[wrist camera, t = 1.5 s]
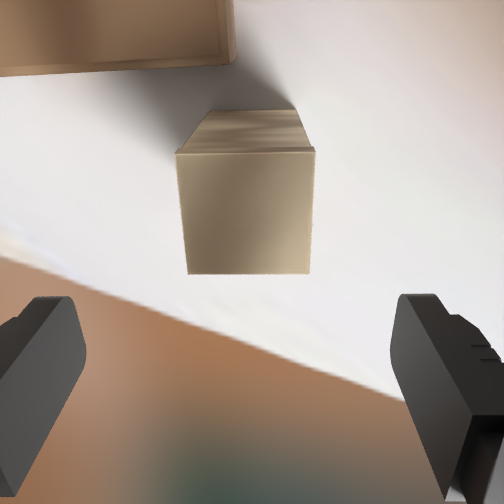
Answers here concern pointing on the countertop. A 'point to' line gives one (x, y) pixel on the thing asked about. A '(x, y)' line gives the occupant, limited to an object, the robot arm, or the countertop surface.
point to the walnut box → (113, 35)
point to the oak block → (247, 193)
